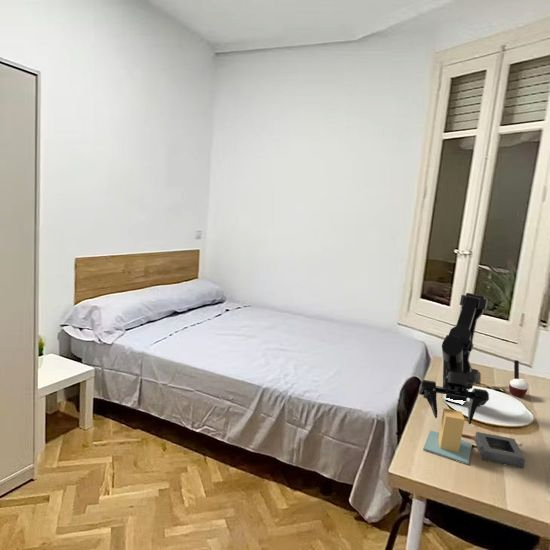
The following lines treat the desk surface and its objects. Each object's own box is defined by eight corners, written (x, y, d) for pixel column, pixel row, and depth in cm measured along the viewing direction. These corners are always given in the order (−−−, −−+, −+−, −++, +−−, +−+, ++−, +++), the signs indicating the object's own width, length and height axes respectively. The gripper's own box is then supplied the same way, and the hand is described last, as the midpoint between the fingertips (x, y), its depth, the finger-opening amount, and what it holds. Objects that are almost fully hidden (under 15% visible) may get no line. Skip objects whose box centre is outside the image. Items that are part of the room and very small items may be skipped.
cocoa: (526, 402, 168) (534, 372, 165) (507, 397, 170) (515, 368, 167) (524, 391, 176) (531, 363, 173) (506, 387, 179) (513, 359, 176)
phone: (458, 377, 182) (459, 365, 196) (457, 380, 183) (459, 368, 196) (479, 382, 179) (479, 370, 193) (478, 385, 180) (478, 372, 193)
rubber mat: (423, 450, 128) (423, 448, 128) (430, 431, 138) (430, 430, 138) (468, 464, 123) (468, 463, 123) (471, 444, 133) (472, 443, 133)
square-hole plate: (482, 460, 126) (484, 450, 125) (474, 440, 136) (476, 431, 135) (523, 468, 123) (525, 458, 123) (512, 447, 134) (514, 438, 133)
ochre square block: (440, 448, 129) (445, 416, 127) (438, 439, 133) (443, 408, 131) (458, 452, 127) (464, 419, 126) (456, 442, 132) (461, 411, 130)
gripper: (426, 354, 133) (423, 405, 124) (493, 364, 129) (495, 418, 121) (419, 369, 142) (417, 417, 134) (482, 379, 138) (484, 430, 130)
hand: (452, 420), depth 129 cm, fingers open, 9 cm apart
